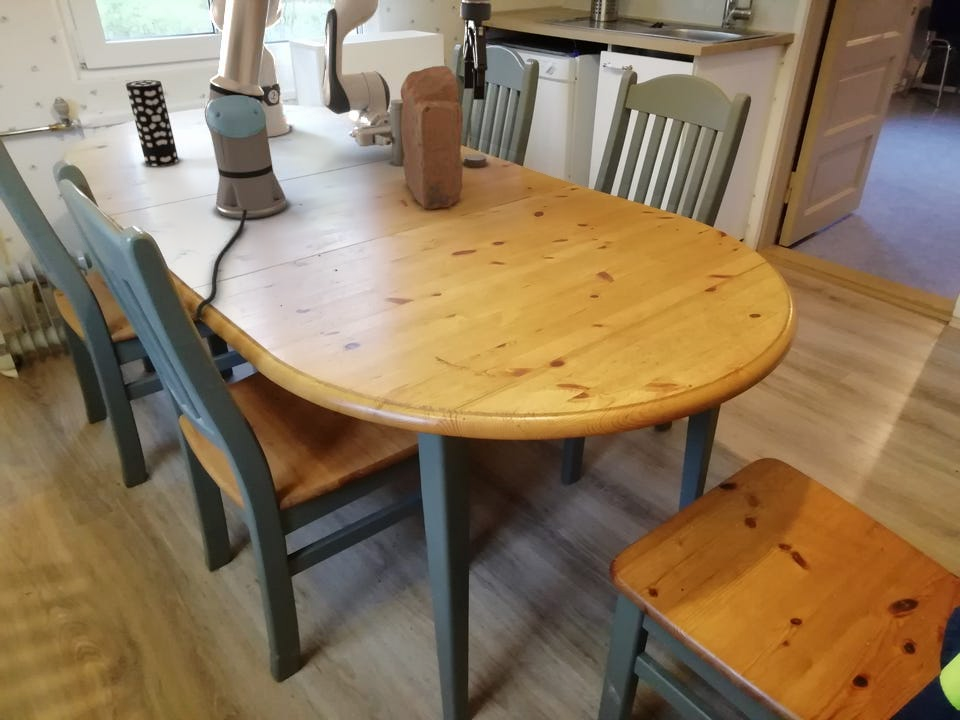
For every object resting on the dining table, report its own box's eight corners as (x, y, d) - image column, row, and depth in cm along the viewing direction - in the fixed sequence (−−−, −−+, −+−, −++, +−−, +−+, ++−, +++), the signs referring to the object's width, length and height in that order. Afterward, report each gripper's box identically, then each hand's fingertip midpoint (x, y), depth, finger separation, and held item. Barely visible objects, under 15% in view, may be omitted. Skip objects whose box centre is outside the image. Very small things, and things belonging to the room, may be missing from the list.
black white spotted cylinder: (184, 157, 190) (167, 80, 179) (169, 166, 183) (151, 87, 172) (155, 156, 190) (136, 79, 179) (139, 165, 183) (119, 86, 172)
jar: (409, 166, 186) (406, 104, 177) (390, 165, 187) (386, 102, 178) (414, 160, 190) (412, 99, 181) (396, 159, 191) (392, 98, 182)
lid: (473, 159, 192) (473, 152, 191) (490, 163, 189) (490, 156, 187) (459, 164, 188) (459, 157, 187) (476, 168, 185) (476, 161, 184)
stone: (472, 206, 159) (470, 76, 145) (424, 211, 156) (418, 79, 142) (446, 181, 177) (443, 63, 162) (403, 185, 174) (396, 65, 159)
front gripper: (502, 7, 157) (498, 104, 168) (481, -3, 178) (478, 84, 189) (470, 6, 156) (468, 104, 167) (452, -4, 176) (451, 84, 188)
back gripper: (345, 121, 188) (365, 132, 178) (413, 112, 197) (435, 123, 187) (348, 144, 191) (367, 157, 181) (414, 135, 200) (436, 146, 190)
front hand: (473, 93), depth 178 cm, fingers open, 13 cm apart
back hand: (402, 140), depth 184 cm, fingers open, 7 cm apart
